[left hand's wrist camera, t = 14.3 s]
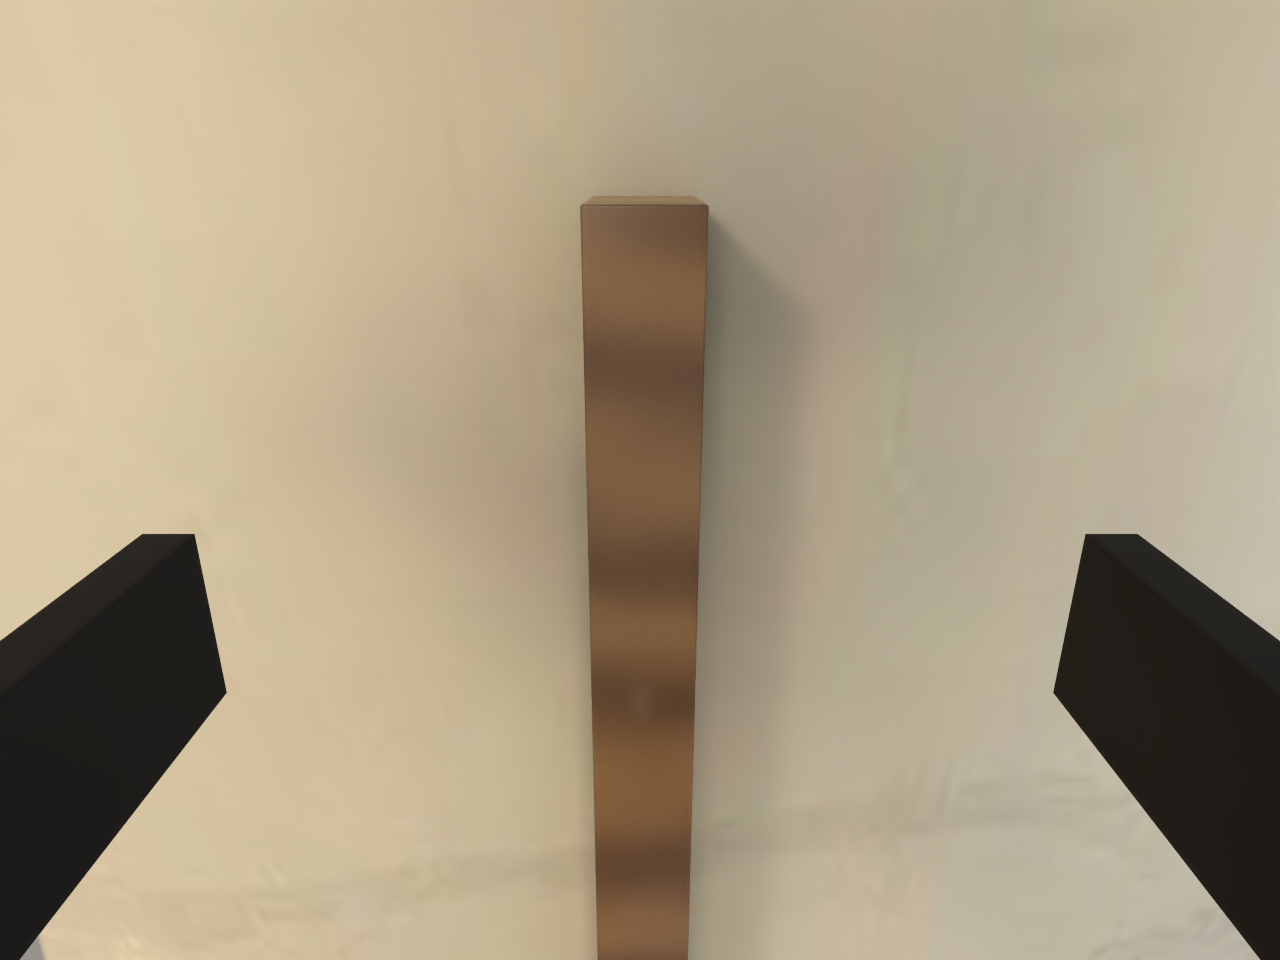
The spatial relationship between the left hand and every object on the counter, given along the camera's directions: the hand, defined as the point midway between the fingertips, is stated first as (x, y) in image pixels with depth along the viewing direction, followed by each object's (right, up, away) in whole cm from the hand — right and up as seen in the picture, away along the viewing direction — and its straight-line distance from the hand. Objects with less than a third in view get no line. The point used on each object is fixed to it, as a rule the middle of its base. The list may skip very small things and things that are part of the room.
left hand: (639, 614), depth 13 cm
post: (0, -14, +35) cm, 38 cm away
